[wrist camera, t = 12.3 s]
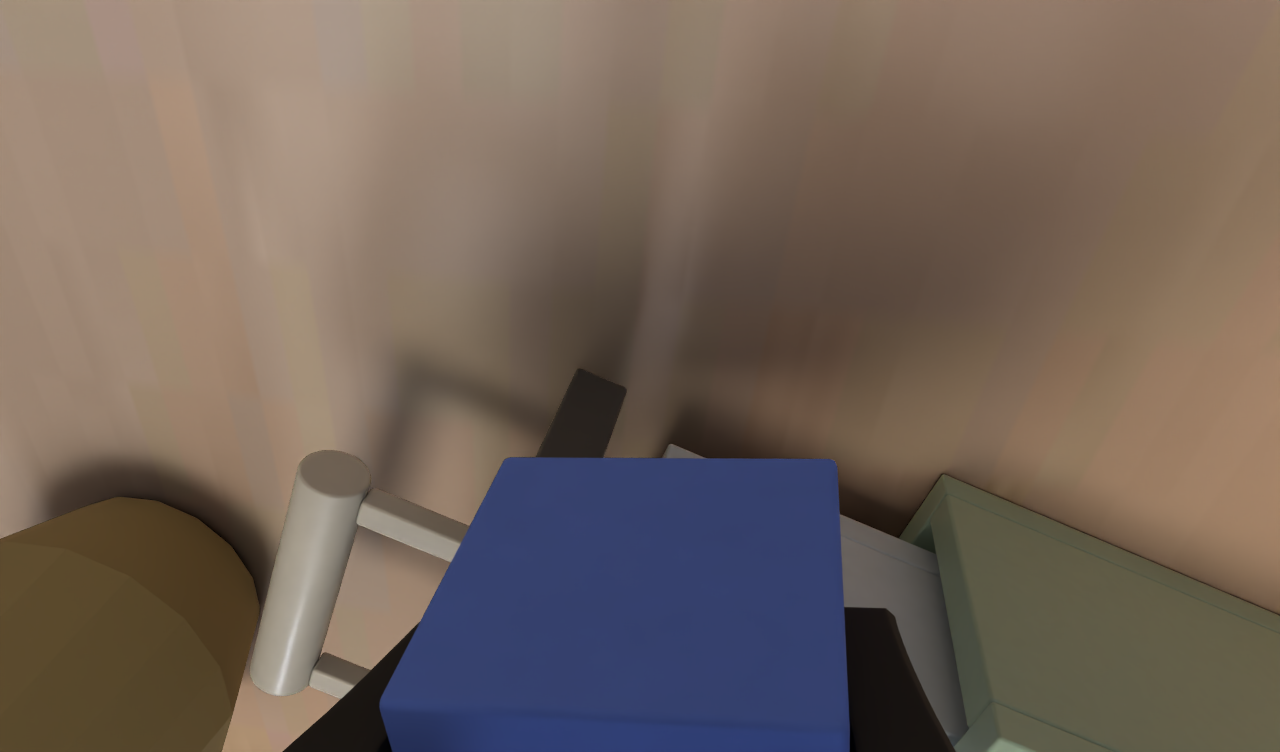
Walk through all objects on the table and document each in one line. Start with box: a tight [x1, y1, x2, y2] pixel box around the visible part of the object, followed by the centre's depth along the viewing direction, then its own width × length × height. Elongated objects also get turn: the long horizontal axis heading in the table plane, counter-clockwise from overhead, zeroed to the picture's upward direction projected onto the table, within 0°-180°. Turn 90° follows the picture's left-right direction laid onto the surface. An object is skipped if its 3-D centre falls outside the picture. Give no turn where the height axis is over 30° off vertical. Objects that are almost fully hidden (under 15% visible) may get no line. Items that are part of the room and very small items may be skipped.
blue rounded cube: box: [380, 457, 850, 752], centre depth 12 cm, size 4×4×4 cm
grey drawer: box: [250, 369, 969, 747], centre depth 21 cm, size 17×10×6 cm, turn 69°
